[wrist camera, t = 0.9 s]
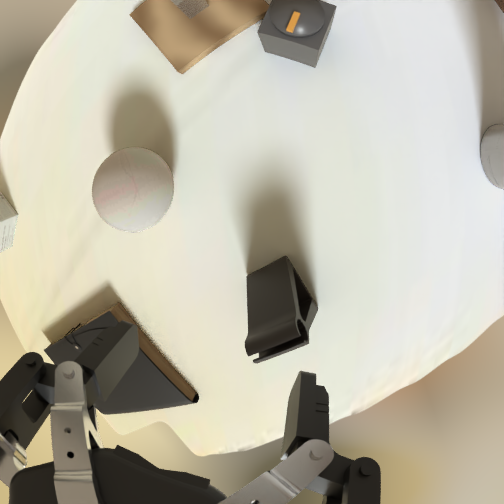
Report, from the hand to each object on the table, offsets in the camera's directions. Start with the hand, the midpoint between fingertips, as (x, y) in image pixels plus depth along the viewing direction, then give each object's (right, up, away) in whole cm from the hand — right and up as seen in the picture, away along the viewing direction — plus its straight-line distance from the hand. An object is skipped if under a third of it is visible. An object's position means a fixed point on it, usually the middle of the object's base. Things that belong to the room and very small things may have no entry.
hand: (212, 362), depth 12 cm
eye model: (-11, +14, +23) cm, 29 cm away
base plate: (-5, +36, +13) cm, 39 cm away
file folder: (-28, -20, +40) cm, 53 cm away
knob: (+7, +30, +13) cm, 34 cm away
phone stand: (+6, 0, +26) cm, 26 cm away
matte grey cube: (-5, +36, +12) cm, 38 cm away
